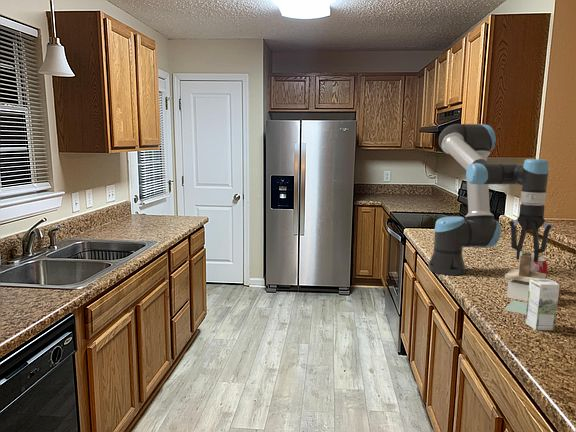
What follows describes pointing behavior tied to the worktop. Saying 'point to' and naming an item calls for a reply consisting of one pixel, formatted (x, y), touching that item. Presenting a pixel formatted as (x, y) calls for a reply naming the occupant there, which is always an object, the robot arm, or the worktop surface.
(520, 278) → the lid
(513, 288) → the dish
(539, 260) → the soda can
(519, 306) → the mat
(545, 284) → the syrup box
